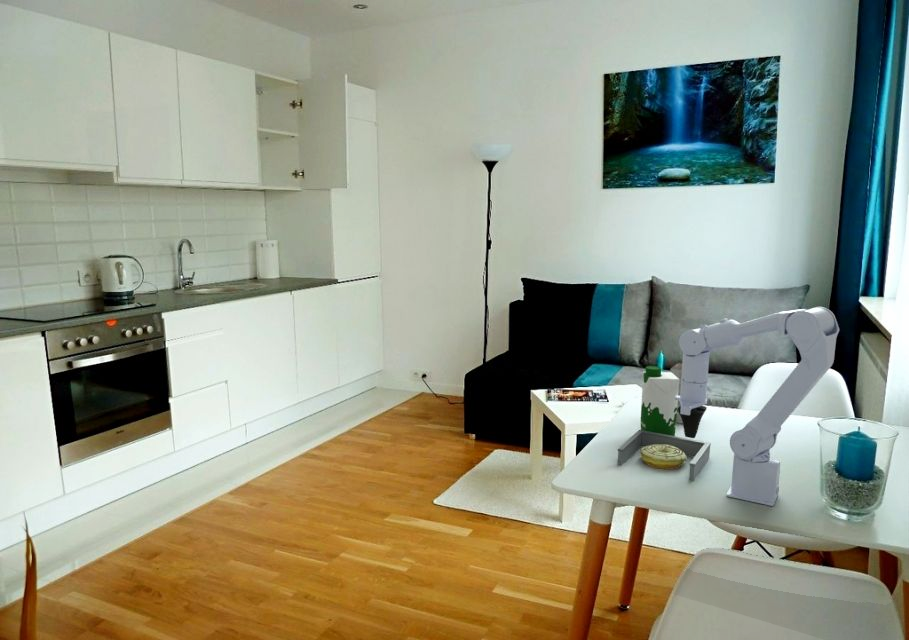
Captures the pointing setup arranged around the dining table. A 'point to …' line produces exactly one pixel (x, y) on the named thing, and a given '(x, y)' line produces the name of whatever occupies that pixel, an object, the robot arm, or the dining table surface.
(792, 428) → the dining table surface
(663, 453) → the decorated donut
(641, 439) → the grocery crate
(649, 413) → the milk carton
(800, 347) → the robot arm
